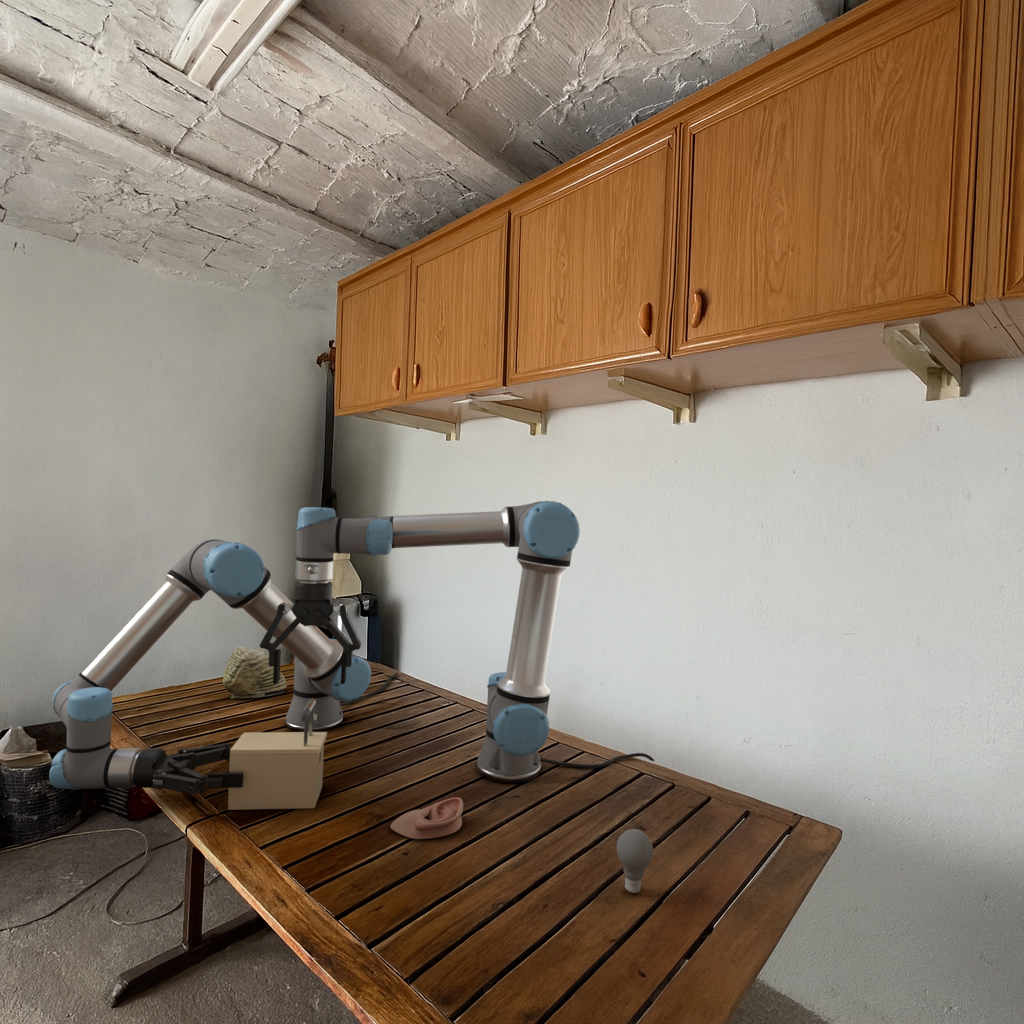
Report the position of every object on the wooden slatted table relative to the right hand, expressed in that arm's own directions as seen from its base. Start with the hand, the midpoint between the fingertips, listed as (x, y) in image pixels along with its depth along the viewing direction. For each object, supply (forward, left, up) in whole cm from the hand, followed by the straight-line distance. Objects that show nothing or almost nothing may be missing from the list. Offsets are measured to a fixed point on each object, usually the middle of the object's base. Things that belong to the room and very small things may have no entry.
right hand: (310, 682), depth 133 cm
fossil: (+11, -74, -24) cm, 79 cm away
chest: (+6, -1, -24) cm, 25 cm away
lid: (+5, -1, -13) cm, 14 cm away
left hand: (+11, -3, -18) cm, 21 cm away
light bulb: (-49, +49, -24) cm, 74 cm away
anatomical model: (-22, +18, -24) cm, 37 cm away
